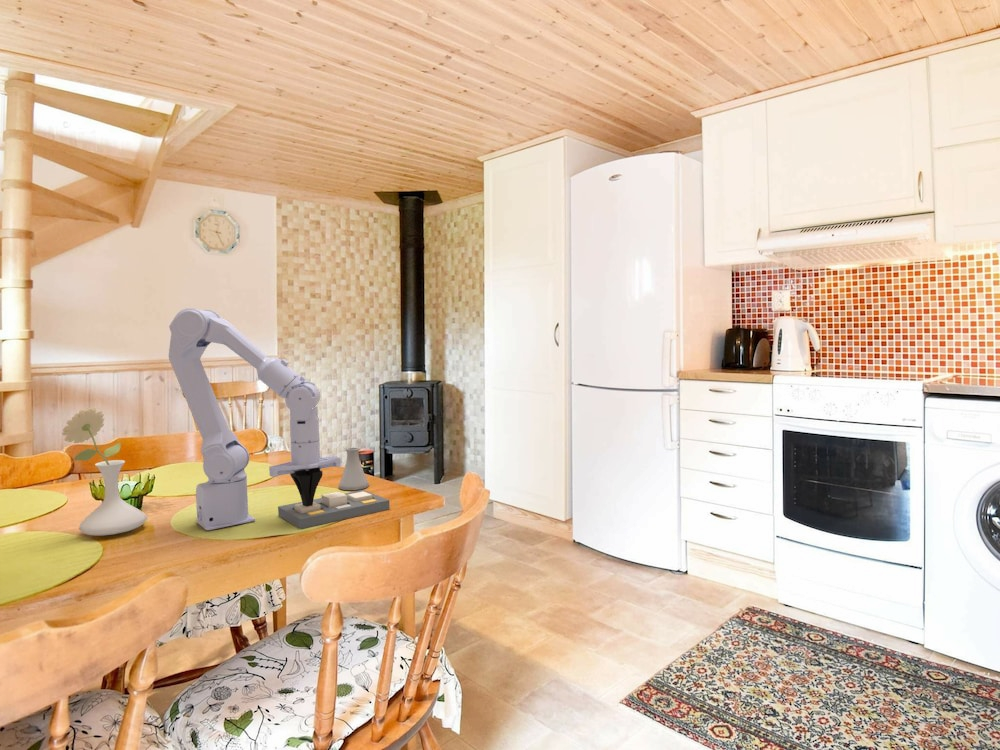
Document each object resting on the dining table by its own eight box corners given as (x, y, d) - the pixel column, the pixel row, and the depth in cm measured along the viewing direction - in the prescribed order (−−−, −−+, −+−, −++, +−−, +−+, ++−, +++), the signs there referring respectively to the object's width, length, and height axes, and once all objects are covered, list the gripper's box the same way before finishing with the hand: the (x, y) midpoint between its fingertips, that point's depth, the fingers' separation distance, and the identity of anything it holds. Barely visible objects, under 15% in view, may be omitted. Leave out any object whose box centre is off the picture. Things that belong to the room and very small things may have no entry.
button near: (302, 518, 124) (301, 508, 124) (294, 514, 127) (294, 504, 127) (320, 514, 127) (320, 505, 127) (313, 510, 130) (312, 501, 130)
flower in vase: (134, 519, 128) (127, 401, 127) (156, 529, 121) (150, 405, 119) (60, 535, 118) (52, 408, 117) (80, 547, 111) (72, 412, 109)
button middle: (329, 507, 128) (329, 498, 128) (321, 504, 131) (321, 494, 131) (347, 504, 131) (347, 495, 130) (339, 500, 134) (338, 491, 134)
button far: (355, 507, 132) (355, 498, 132) (347, 503, 135) (347, 494, 135) (372, 503, 135) (372, 494, 134) (363, 500, 138) (363, 491, 137)
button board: (300, 529, 120) (300, 518, 120) (278, 515, 129) (278, 505, 129) (389, 509, 133) (389, 499, 133) (363, 498, 142) (363, 489, 142)
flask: (332, 489, 151) (331, 449, 150) (352, 483, 157) (351, 444, 157) (355, 492, 147) (354, 452, 147) (374, 486, 154) (373, 447, 153)
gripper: (277, 448, 118) (280, 516, 119) (346, 438, 128) (348, 502, 129) (264, 443, 124) (267, 508, 125) (331, 434, 133) (333, 495, 134)
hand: (307, 505), depth 127 cm, fingers closed, pressing on button near
